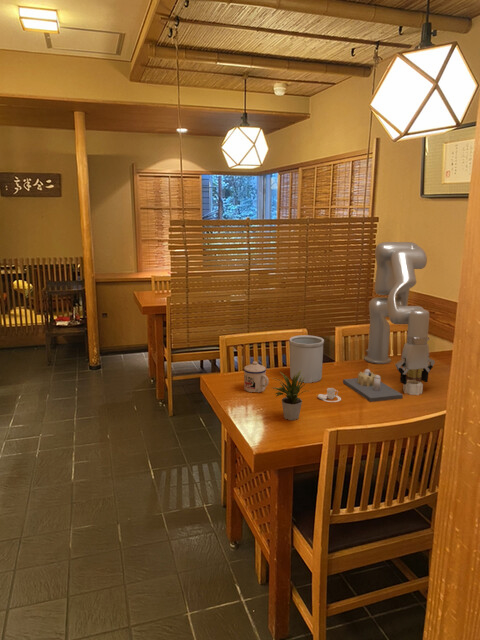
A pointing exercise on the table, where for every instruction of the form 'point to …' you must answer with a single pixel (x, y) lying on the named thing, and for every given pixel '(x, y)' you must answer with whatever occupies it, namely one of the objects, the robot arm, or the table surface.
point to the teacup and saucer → (329, 395)
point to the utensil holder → (306, 357)
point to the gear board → (372, 387)
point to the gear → (413, 387)
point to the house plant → (291, 397)
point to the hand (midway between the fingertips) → (413, 382)
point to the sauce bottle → (414, 374)
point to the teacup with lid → (255, 377)
